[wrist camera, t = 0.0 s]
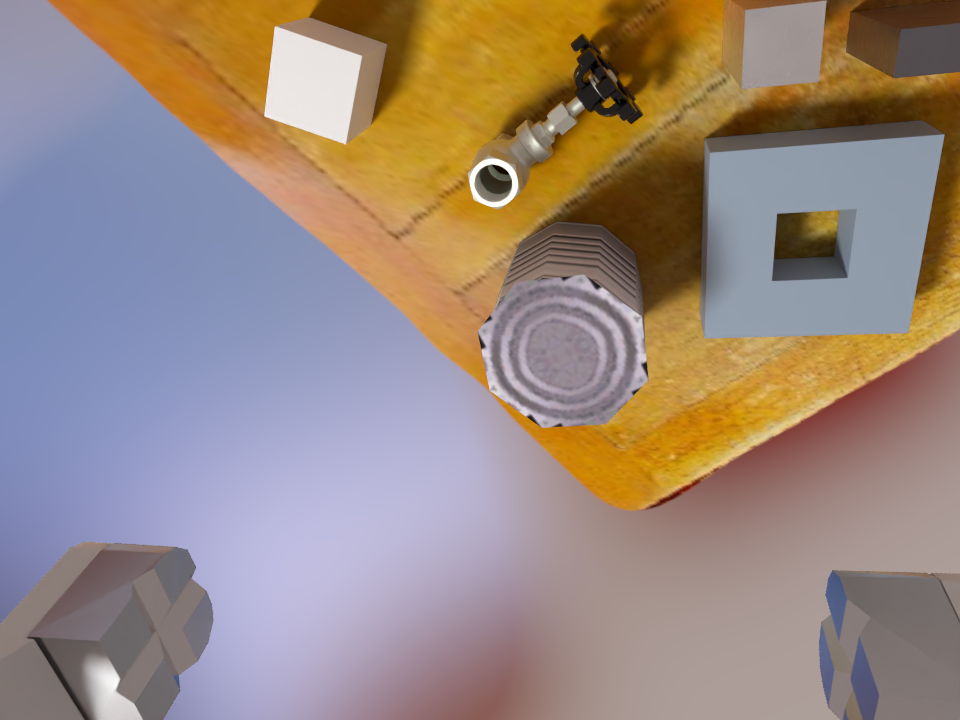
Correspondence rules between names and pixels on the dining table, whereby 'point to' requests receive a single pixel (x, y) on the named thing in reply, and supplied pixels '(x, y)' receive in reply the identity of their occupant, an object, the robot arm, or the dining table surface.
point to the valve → (549, 129)
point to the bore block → (808, 188)
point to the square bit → (773, 41)
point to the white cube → (323, 79)
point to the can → (568, 327)
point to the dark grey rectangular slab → (908, 38)
